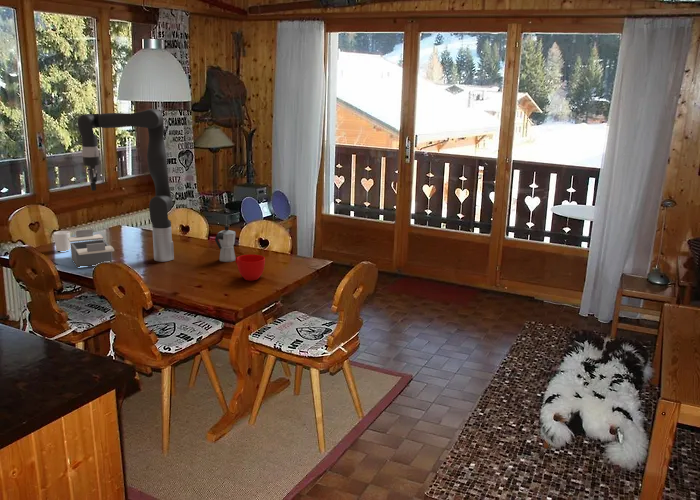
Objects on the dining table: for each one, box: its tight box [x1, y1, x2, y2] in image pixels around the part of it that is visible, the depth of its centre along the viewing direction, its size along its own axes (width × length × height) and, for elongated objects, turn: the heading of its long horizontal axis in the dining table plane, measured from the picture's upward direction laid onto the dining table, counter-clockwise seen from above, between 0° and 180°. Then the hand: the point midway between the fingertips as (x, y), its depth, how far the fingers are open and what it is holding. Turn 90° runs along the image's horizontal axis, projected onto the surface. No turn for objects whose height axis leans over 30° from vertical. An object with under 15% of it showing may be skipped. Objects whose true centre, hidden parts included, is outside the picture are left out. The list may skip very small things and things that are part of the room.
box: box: [70, 239, 113, 268], centre depth 329 cm, size 16×16×9 cm
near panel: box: [76, 242, 115, 255], centre depth 317 cm, size 16×8×4 cm, turn 121°
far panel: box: [67, 228, 104, 243], centre depth 338 cm, size 16×8×4 cm, turn 121°
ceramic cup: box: [235, 253, 266, 281], centre depth 312 cm, size 13×17×10 cm
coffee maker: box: [214, 225, 236, 263], centre depth 338 cm, size 15×9×18 cm, turn 149°
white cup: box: [53, 230, 71, 252], centre depth 347 cm, size 8×8×10 cm
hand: (93, 190), depth 330 cm, fingers closed
